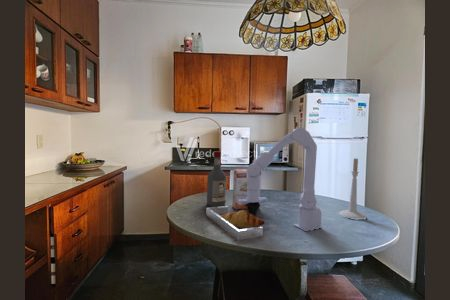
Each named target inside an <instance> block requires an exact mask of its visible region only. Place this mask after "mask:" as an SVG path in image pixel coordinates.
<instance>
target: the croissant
mask: <svg viewBox="0 0 450 300" xmlns="http://www.w3.org/2000/svg"><path fill="white" fill-rule="evenodd" d="M219 216H220V217H222V218H223V219H225V220H226V221H227V222H229V223H230V224H232V225H233V226H234V227H236V228H242V229H246V228H254V227H262V226H263V225H265V223H266V221H265V220H264V219H261V218H260V217H257V216H256V215H255V216H254V215H252V214H250V213H249V211H248V210H247V209H241V210H239V211H232V212H228V213H227V214H221V215H219Z"/></svg>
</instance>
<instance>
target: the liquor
mask: <svg viewBox="0 0 450 300" xmlns="http://www.w3.org/2000/svg"><path fill="white" fill-rule="evenodd" d="M213 156H214V160H213V161H214V162H213V168H212V170H211V171H210V172H209V173H208V174H207V178H206V179H207V183H206V184H207V185H206V204H207V206H210V207H220V206H226V201H227V199H226V194H227V193H226V192H227V175H226V173H225V172H224V171H223V169H222V167H221V157H222V151H218V150H216V151H214V153H213Z"/></svg>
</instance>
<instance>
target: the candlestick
mask: <svg viewBox="0 0 450 300" xmlns="http://www.w3.org/2000/svg"><path fill="white" fill-rule="evenodd" d="M358 166H359V158H353V164H352V170H351V171H350V172H351V176H352V179H351V180H352V181H351V189H350V196H349V205H348V209H344V210H341V211H339V212H338V215H339V214H340V215H342V216H345V217H349V218H365V217H367V215H365V213H363V212H360V211H358V209H357V204H358V202H357V197H358V195H357V193H358V190H357V189H358V182H357V181H358V179H357V177H358V176H359V175H358V174H359V173H360V172H359V171H358V168H359V167H358Z"/></svg>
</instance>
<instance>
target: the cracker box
mask: <svg viewBox="0 0 450 300" xmlns="http://www.w3.org/2000/svg"><path fill="white" fill-rule="evenodd" d="M261 178H262V171H261V172H260V184H261V182H262V181H261ZM247 179H248V173H247V169H243V168H242V169H233V180H232V181H233V183H232V208H233V209H235V210H248V208H247V206H246V204H242V205H239V204H238V200H240V199H245V198H247ZM259 197H261V191H260V192H259Z"/></svg>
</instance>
